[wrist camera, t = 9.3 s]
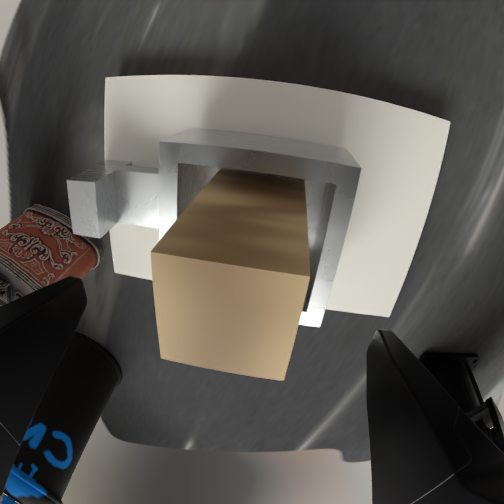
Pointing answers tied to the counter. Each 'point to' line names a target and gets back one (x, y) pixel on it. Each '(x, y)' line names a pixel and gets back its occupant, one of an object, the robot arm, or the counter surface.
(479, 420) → the robot arm
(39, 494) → the aerosol can
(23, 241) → the lighter
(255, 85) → the bracket board
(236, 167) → the bracket
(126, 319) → the counter surface
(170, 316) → the oak rail post
